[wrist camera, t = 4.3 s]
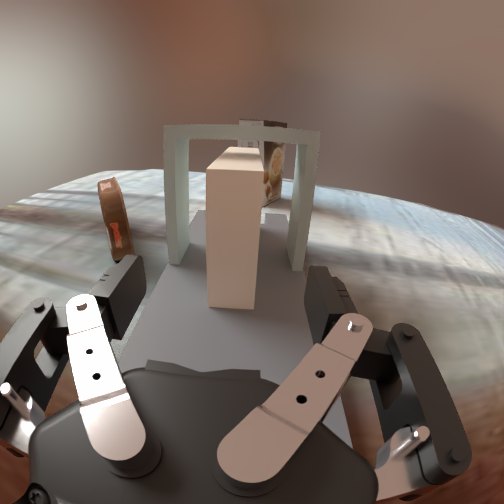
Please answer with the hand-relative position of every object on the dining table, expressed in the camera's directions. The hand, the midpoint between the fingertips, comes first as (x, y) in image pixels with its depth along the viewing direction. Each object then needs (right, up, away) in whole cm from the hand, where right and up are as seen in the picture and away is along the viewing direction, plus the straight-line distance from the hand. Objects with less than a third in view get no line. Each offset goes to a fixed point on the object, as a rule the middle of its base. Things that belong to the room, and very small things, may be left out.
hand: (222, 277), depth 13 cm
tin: (-16, +2, +20) cm, 26 cm away
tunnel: (0, +1, +15) cm, 15 cm away
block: (0, +1, +15) cm, 15 cm away
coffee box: (+3, +12, +42) cm, 44 cm away
